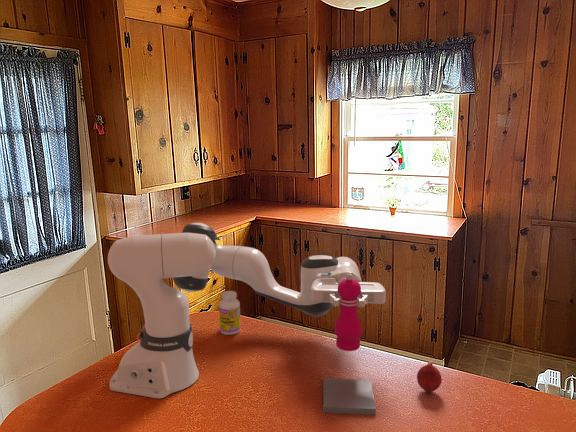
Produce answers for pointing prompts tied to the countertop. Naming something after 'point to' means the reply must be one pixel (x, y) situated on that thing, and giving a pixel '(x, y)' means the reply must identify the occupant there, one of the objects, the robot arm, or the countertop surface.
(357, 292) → the pepper mill
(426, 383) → the onion
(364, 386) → the silver flat square block
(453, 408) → the countertop surface
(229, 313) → the supplement bottle
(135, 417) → the countertop surface
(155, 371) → the robot arm
